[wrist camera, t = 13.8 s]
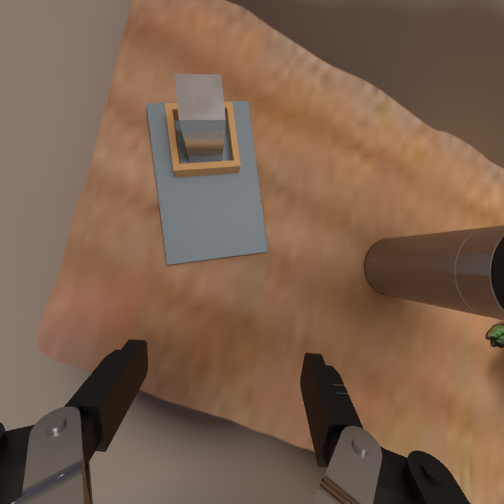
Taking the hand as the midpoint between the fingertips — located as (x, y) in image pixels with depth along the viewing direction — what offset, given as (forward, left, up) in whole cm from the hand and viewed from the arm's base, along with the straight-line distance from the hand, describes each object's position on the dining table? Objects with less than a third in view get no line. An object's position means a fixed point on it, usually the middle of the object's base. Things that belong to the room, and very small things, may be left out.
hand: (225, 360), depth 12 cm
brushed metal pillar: (-1, -21, -21) cm, 30 cm away
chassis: (-1, -16, -22) cm, 27 cm away
